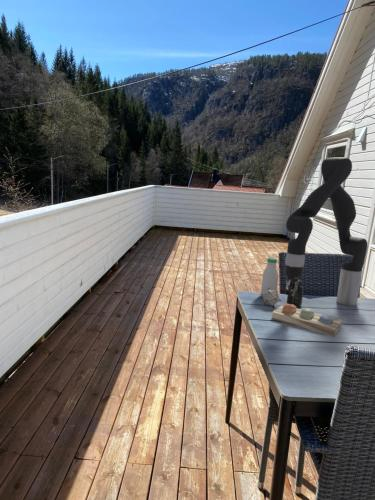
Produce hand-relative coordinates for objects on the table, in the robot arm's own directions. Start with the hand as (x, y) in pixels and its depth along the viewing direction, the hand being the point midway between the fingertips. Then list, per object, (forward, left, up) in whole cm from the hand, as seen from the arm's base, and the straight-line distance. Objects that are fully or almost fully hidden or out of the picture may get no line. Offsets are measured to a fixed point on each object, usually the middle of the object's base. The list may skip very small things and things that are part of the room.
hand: (289, 303), depth 144 cm
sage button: (0, +8, -4) cm, 9 cm away
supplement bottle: (-19, -4, -7) cm, 21 cm away
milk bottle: (-21, -18, -7) cm, 28 cm away
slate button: (0, +15, -5) cm, 16 cm away
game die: (-9, -12, -7) cm, 16 cm away
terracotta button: (0, 0, -4) cm, 4 cm away
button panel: (0, +8, -6) cm, 10 cm away
